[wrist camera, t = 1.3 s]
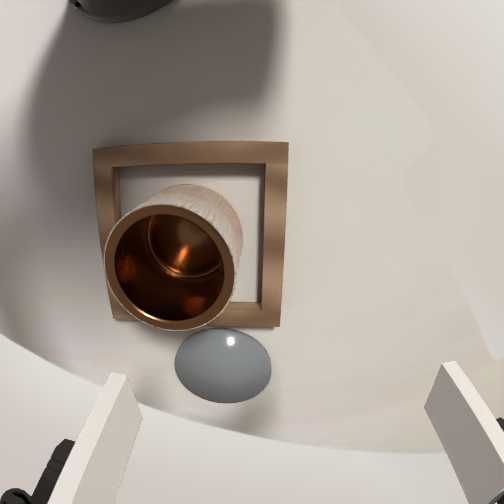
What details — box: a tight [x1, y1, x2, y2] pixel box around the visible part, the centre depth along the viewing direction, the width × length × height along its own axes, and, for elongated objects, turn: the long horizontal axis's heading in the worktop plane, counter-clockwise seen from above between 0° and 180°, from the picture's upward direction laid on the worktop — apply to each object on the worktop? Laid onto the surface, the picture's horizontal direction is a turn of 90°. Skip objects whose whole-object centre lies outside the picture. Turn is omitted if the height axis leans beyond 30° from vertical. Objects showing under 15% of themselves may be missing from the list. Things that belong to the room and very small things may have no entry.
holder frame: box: [93, 141, 289, 327], centre depth 32 cm, size 19×19×2 cm
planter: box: [104, 184, 242, 331], centre depth 28 cm, size 11×11×10 cm
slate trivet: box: [175, 328, 271, 403], centre depth 38 cm, size 12×12×1 cm
